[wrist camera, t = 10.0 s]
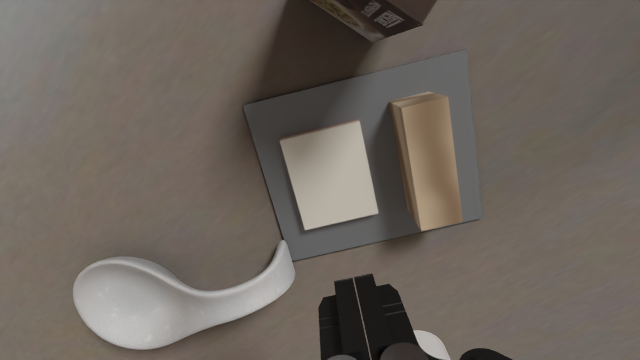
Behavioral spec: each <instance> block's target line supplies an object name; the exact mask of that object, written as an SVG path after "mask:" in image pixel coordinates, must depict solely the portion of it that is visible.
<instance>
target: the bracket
mask: <svg viewBox="0 0 640 360" xmlns="http://www.w3.org/2000/svg"><path fill="white" fill-rule="evenodd" d="M413 331H414V334H415V336H416V339H417V341H418V344H419V346H420V347H421V348H422V349H423V350H424V351H425V352H426V353H427V354H429V355H431V356H433V357H435V358H438V359H443V360H451V359H450V357H449V355H448V353H447V351H446V348H445V346H444V344H443V343H442V341H441V340H440V339H439V338H438V337H436V336H435V335H433V334H431V333H429V332H425V331H419V330H413Z"/></svg>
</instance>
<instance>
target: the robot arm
mask: <svg viewBox="0 0 640 360" xmlns="http://www.w3.org/2000/svg"><path fill="white" fill-rule="evenodd" d="M354 279H355V284H356V289H357V293H358V298H359V302H360V307H361V311H362V316H363V321H364V325H365V330H366V334H367V339H368V343H369V348H370V353H371V357H372V360H443V359H438V358H435V357H433V356H431V355H429V354H427V353H426V352H425V351H424V350H423V349H422V348H421V347H420V346H419V344H418V341H417V339H416V336H415V334H414V331H413V329H412V326H411V324H410V321H409V319H408V316H407V313H406V312H405V308H404V306H403V303H402V301H401V298H400V296H399V293H398V291H397V290H396V289H394V288H393V287H392V286H391V285H390V284H386V285H381V286H376V284H375V281H374V277H373V274H367V275H362V276H357V277H354ZM334 284H335V292H336V295H333V296H328V297H324V298H323V299H322V301H321V304H320V306H319V308H318V309H319V327H320V348H321V360H370V357H369V352H368V347H367V343H366V338H365V333H364V328H363V324H362V319H361V314H360V310H359V305H358V301H357V296H356V292H355V287H354V283H353V278H348V279H343V280H338V281H334ZM460 360H512V359H510V358H508V357H506V356H504V355H502V354H500V353H498V352H496V351H493V350H490V349H484V348H477V349H472V350H469V351H467V352H465V353H464V354H463V355H462V356H461V358H460Z"/></svg>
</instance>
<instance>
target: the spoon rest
mask: <svg viewBox="0 0 640 360" xmlns="http://www.w3.org/2000/svg"><path fill="white" fill-rule="evenodd" d="M294 278H295V270H294V266H293V263H292V259H291V256H290V252H289V249H288V246H287V244H286V242H285V241H284V240H281V241H280V242H279V244H278V246H277V249H276V252H275V255H274V258H273V260H272V262H271V263H270V264H269V266H268V267H267V268H266V269H265V270H264V271H263V272H262V273H261V274H259V275H258V276H256V277H255V278H253V279H251V280H249V281H247V282H245V283H242V284H240V285H237V286H234V287H231V288H228V289H224V290H218V291H202V290H198V289H194V288H192V287H190V286H188V285H186V284H184V283H183V282H181V281H180V280H179V279H178V278H177V277H175V276H174V275H173V274H172V273H171V272H170V271H168V270H167V269H165V268H164V267H162V266H160V265H159V264H157V263H155V262H152V261H149V260H146V259H142V258H137V257H127V256H122V257H112V258H107V259H103V260H100V261H97V262H94V263H92V264H91V265H89V266H87V267H86V268H85V269H84V270H83V271H81V273H80V274H79V275H78V277H77V278H76V280H75V283H74V287H73V299H74V303H75V306H76V308H77V310H78V313H79V314H80V316H81V318H82V319H83V321H84V322H85V324H86V325H87V326H88V327H89V328H90V329H91V330H92V331H93V332H94V333H95V334H97V335H98V336H99V337H101V338H102V339H104V340H106V341H108V342H110V343H112V344H114V345H117V346H120V347H124V348H129V349H139V350H147V349H155V348H159V347H163V346H166V345H169V344H172V343H174V342H176V341H178V340H181V339H183V338H185V337H187V336H189V335H192V334H194V333H196V332H199V331H201V330H204V329H207V328H210V327H213V326H216V325H219V324H223V323H226V322H229V321H233V320H235V319H238V318H241V317H243V316H246V315H248V314H250V313H253V312H255V311H257V310H259V309H261V308H262V307H264V306H266V305H268V304H270V303H271V302H273V301H274V300H276V299H277V298H279V297H280V296H281V295H282V294H283V293H285V292H286V291H287V290H288V289H289V287H290V286H291V285H292V283H293V281H294Z"/></svg>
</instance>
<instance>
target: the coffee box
mask: <svg viewBox="0 0 640 360" xmlns="http://www.w3.org/2000/svg"><path fill="white" fill-rule="evenodd" d="M310 1H311V2H313V3H314V4H316V5H317V6H319V7H320V8H322V9H323V10H325V11H326V12H328V13H329V14H331V15H332V16H334V17H335V18H337V19H338V20H340V21H341V22H343V23H344V24H346V25H347V26H349V27H350V28H352V29H353V30H355V31H356V32H358V33H359V34H361V35H362V36H364V37H365V38H367V39H368V40H369V41H371V42H375V41H378V40H381V39H384V38H387V37H390V36H392V35H396V34H398V33H401V32H404V31H407V30H410V29H413V28H416V27H419V26H423V25H424V24H425V22H426V21H427V19H428V18H429V16H430V15H431V13H432V12H433V10H434V8H435V7H436V5H437V4H438V2H439V1H440V0H310Z"/></svg>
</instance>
